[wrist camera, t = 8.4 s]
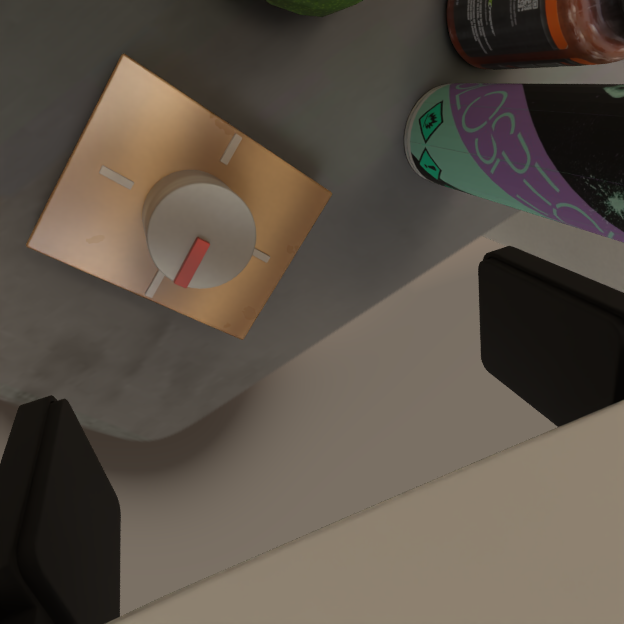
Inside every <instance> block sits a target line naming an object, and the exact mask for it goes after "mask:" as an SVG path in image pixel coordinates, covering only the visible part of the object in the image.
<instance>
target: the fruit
mask: <svg viewBox="0 0 624 624" xmlns="http://www.w3.org/2000/svg"><path fill="white" fill-rule="evenodd" d="M266 1H267V2H268V3H270V4H272V5H275V6H277V7H280V8H283V9H286V10H289V11H291V12H294V13H297V14H300V15H308V16H318V17H324V16H326V15H329V14H332V13H334V12H337V11H340V10H343V9H345V8H348V7H350V6H353V5H355V4H357V3H359V2H361V1H363V0H266Z"/></svg>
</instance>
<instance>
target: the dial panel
mask: <svg viewBox="0 0 624 624" xmlns="http://www.w3.org/2000/svg"><path fill="white" fill-rule="evenodd" d="M181 170H198V171H203V172H206V173H209V174H211V175H213V176H215V177H217V178H218V179H220V180H221V181H222V182H223V183H225V184H226V185H227V186H228V187H229V188H230V189H231V190H232V191H233V192H235V193H236V194H237V195H238V196H239V197H240V198H241V199H242V200H243V201H244V202H245V203H246V205H247V206H248V208H249V209H250V211H251V213H252V215H253V218H254V221H255V226H256V244H255V249H254V252H253V255H252V257H251V259H250V261H249V262H248V264H247V266H246V267H245V268H244V269H243V270H242V272H241V273H239V274H238V275H237V276H236V277H235V278H233V279H232V280H230V281H228V282H227V283H225V284H222V285H220V286H216V287H212V288H204V289H198V288H190V287H187V288H183V287H181V286H179V285H176V284H174V281H172V280H170V279H169V278H167V277H166V276H165V275H164V274H163V273H162V272H161V271H160V270H159V269H158V268H157V267H156V265H155V263H154V262H153V260H152V258H151V256H150V253H149V250H148V247H147V242H146V237H145V233H144V228H143V222H142V211H143V205H144V202H145V199H146V197H147V195H148V193H149V191H150V190H151V189H152V187H153V186H154V185H155V184H156V183H157V182H158V181H159V180H161V179H162V178H163V177H165V176H167V175H169V174H171V173H174V172H177V171H181ZM331 195H332V192H330V191H329V190H327V189H326V188H324V187H323V186H321V185H320V184H318V183H317V182H315V181H314V180H312V179H311V178H309V177H308V176H306V175H305V174H303V173H302V172H300V171H299V170H297V169H296V168H294V167H293V166H291V165H290V164H288V163H287V162H285V161H284V160H282V159H281V158H279V157H278V156H277V155H275V154H274V153H272V152H271V151H269V150H268V149H266V148H265V147H263V146H262V145H260V144H259V143H257V142H256V141H254V140H253V139H251V138H250V137H248V136H247V135H245V134H244V133H242V132H241V131H239V130H238V129H236V128H235V127H233V126H232V125H230V124H229V123H227V122H226V121H224V120H223V119H221V118H220V117H218V116H217V115H215V114H214V113H212V112H211V111H209V110H208V109H206V108H205V107H203V106H202V105H200V104H199V103H197V102H196V101H194V100H193V99H191V98H190V97H188V96H187V95H185V94H184V93H182V92H181V91H179V90H178V89H176V88H175V87H174V86H172V85H171V84H169V83H168V82H166V81H165V80H163V79H162V78H160V77H159V76H157V75H156V74H154V73H153V72H151V71H150V70H148V69H147V68H145V67H144V66H142V65H141V64H139V63H138V62H136V61H135V60H133V59H132V58H130V57H129V56H127V55H126V54H122V55H121V57H120V59H119V61H118V63H117V64H116V66H115V68H114V70H113V72H112V74H111V76H110V78H109V80H108V82H107V84H106V86H105V88H104V90H103V92H102V94H101V96H100V98H99V100H98V102H97V104H96V106H95V108H94V110H93V112H92V114H91V116H90V118H89V120H88V122H87V124H86V126H85V128H84V130H83V132H82V134H81V136H80V138H79V140H78V142H77V144H76V146H75V148H74V150H73V152H72V154H71V156H70V158H69V160H68V162H67V164H66V166H65V168H64V170H63V172H62V174H61V176H60V178H59V180H58V182H57V184H56V186H55V188H54V190H53V192H52V194H51V196H50V198H49V200H48V202H47V204H46V206H45V208H44V210H43V212H42V214H41V216H40V218H39V220H38V222H37V224H36V226H35V228H34V230H33V232H32V234H31V236H30V238H29V240H28V242H27V244H26V246H27V247H28V248H31V249H33V250H35V251H38V252H40V253H42V254H45V255H47V256H49V257H51V258H54V259H56V260H58V261H61V262H63V263H65V264H68V265H70V266H72V267H75V268H77V269H79V270H82V271H84V272H86V273H89V274H91V275H93V276H95V277H98V278H100V279H102V280H105V281H107V282H109V283H112V284H114V285H116V286H119V287H121V288H123V289H126V290H128V291H130V292H133V293H135V294H137V295H139V296H142V297H144V298H146V299H149V300H151V301H153V302H156V303H158V304H160V305H163V306H165V307H167V308H170V309H172V310H174V311H177V312H179V313H181V314H183V315H186V316H188V317H190V318H193V319H195V320H197V321H200V322H202V323H204V324H207V325H209V326H211V327H214V328H216V329H218V330H221V331H223V332H225V333H227V334H230V335H232V336H234V337H237V338H239V339H241V340H243V339H244V338H245V336H246V334H247V333H248V331H249V329H250V328H251V326H252V324H253V323H254V321H255V320H256V318H257V316H258V315H259V313H260V311H261V310H262V308H263V307H264V305H265V303H266V302H267V300H268V298H269V297H270V295H271V293H272V292H273V290H274V289H275V287H276V285H277V284H278V282H279V280H280V279H281V277H282V275H283V274H284V272H285V271H286V269H287V267H288V266H289V264H290V262H291V261H292V259H293V258H294V256H295V254H296V253H297V251H298V249H299V248H300V246H301V244H302V243H303V241H304V240H305V238H306V236H307V235H308V233H309V231H310V230H311V228H312V226H313V225H314V223H315V222H316V220H317V218H318V217H319V215H320V213H321V212H322V210H323V209H324V207H325V205H326V204H327V202H328V200H329V199H330V197H331Z"/></svg>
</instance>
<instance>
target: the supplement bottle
mask: <svg viewBox="0 0 624 624" xmlns="http://www.w3.org/2000/svg"><path fill="white" fill-rule="evenodd" d="M447 24H448V29H449V35H450V38H451V41H452V43H453V45H454V47H455V49H456V50H457V52H458V53H459V54H460V56H461V57H462V58H463V59H464V60H465V61H467V62H468V63H469V64H471V65H473V66H475V67H477V68H481V69H493V70H497V69H499V70H500V69H518V68H540V67H559V66H581V65H595V64H607V63H611V62H617V61H620V60H623V59H624V0H448V5H447Z"/></svg>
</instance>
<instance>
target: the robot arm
mask: <svg viewBox="0 0 624 624" xmlns="http://www.w3.org/2000/svg"><path fill="white" fill-rule="evenodd" d="M478 276H479V306H480V307H479V308H480V340H481V360H482V363H483V365H484V367H485V368H486V370H487V371H488V372H489V373H491V374H492V375H493V376H494V377H496V378H497V379H498V380H499V381H501V382H502V383H503V384H504V385H506V386H507V387H508V388H510V389H511V390H512V391H513V392H515V393H516V394H517V395H518V396H520V397H521V398H522V399H523V400H525V401H526V402H527V403H529V404H530V405H531V406H532V407H534V408H535V409H536V410H537V411H539V412H540V413H541V414H543V415H544V416H545V417H546V418H548V419H549V420H550V421H551V422H553V423H554V424H555V425H556V426H558V428H555V429H553V430H550V431H548V432H546V433H543V434H541V435H538V436H536V437H534V438H531V439H529V440H526V441H524V442H522V443H519V444H517V445H515V446H512V447H510V448H507V449H505V450H503V451H500V452H499V453H496V454H493V455H491V456H489V457H486V458H484V459H481V460H479V461H477V462H474V463H472V464H470V465H467V466H465V467H463V468H460V469H458V470H456V471H453V472H451V473H448V474H446V475H444V476H441V477H439V478H437V479H434V480H432V481H430V482H427V483H425V484H423V485H420V486H418V487H416V488H413V489H411V490H409V491H406V492H404V493H402V494H399V495H397V496H395V497H392V498H390V499H387V500H385V501H383V502H380V503H378V504H376V505H373V506H371V507H369V508H366V509H364V510H362V511H360V512H357V513H355V514H353V515H350V516H348V517H346V518H343V519H341V520H339V521H337V522H334V523H332V524H329V525H327V526H325V527H322V528H320V529H318V530H316V531H313V532H311V533H309V534H306V535H304V536H302V537H299V538H297V539H295V540H292V541H290V542H288V543H286V544H283V545H281V546H279V547H276V548H274V549H272V550H269V551H267V552H265V553H262V554H260V555H258V556H255V557H253V558H251V559H249V560H246V561H244V562H242V563H239V564H237V565H235V566H232V567H230V568H228V569H225V570H223V571H221V572H218V573H216V574H214V575H212V576H209V577H207V578H204V579H202V580H200V581H198V582H195V583H193V584H191V585H188V586H186V587H184V588H181V589H179V590H177V591H174V592H172V593H170V594H168V595H165V596H163V597H161V598H159V599H157V600H154V601H152V602H150V603H148V604H146V605H144V606H142V607H140V608H137V609H135V610H133V611H131V612H129V613H127V614H125V615H123V616H121V617H120V521H121V519H120V518H121V517H120V516H121V515H120V505H119V501H118V498H117V496H116V493H115V491H114V489H113V488H112V486H111V484H110V482H109V480H108V478H107V476H106V474H105V472H104V470H103V468H102V466H101V464H100V462H99V461H98V458H97V456H96V454H95V453H94V450H93V449H92V447H91V445H90V443H89V441H88V439H87V437H86V435H85V433H84V431H83V429H82V427H81V425H80V423H79V421H78V419H77V417H76V415H75V413H74V411H73V409H72V408H71V406H70V404H69V402H68V401H67V400H66V399H62V400H59V401H57V399H56V398H55V397H54V396H52V395H51V396H48V397H45V398H41V399H38V400H35V401H32V402H29V403H26V404H23V405H20V406H19V408H18V411H17V414H16V417H15V420H14V423H13V427H12V429H11V432H10V435H9V438H8V442H7V445H6V448H5V451H4V454H3V457H2V460H1V463H0V624H624V293H623V292H620V291H618V290H615V289H613V288H611V287H608V286H606V285H603V284H601V283H599V282H596V281H594V280H591V279H589V278H587V277H584V276H582V275H579V274H577V273H575V272H572V271H570V270H568V269H565V268H563V267H560V266H558V265H556V264H553V263H551V262H548V261H546V260H544V259H541V258H539V257H536V256H534V255H532V254H529V253H527V252H524V251H522V250H520V249H517V248H515V247H512V246H507V247H504V248H501V249H498V250H495V251H492V252H489V253H486V255H485V256H484V259H483V261H481V262H480V264H479V268H478Z"/></svg>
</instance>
